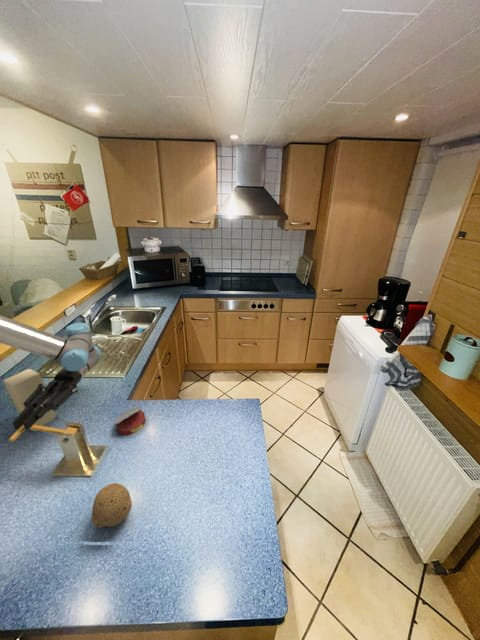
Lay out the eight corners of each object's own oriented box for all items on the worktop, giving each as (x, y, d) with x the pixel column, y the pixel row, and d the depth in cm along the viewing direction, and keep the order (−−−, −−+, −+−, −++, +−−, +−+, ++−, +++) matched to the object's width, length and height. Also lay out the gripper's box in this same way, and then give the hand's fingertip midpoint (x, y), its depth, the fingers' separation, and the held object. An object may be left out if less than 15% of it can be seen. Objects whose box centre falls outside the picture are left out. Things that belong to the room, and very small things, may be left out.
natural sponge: (141, 503, 69) (135, 480, 65) (120, 541, 62) (112, 518, 57) (112, 495, 71) (105, 472, 67) (89, 531, 63) (79, 508, 59)
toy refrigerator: (46, 410, 99) (27, 367, 90) (57, 417, 96) (39, 373, 87) (23, 425, 93) (1, 380, 84) (34, 432, 90) (12, 386, 81)
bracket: (52, 477, 75) (36, 443, 69) (72, 448, 85) (60, 415, 78) (92, 478, 75) (79, 444, 69) (108, 448, 84) (98, 416, 78)
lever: (8, 443, 69) (7, 437, 68) (35, 415, 78) (34, 409, 77) (65, 451, 71) (64, 446, 70) (85, 423, 80) (85, 418, 79)
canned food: (124, 444, 91) (104, 431, 86) (128, 421, 99) (111, 408, 94) (150, 431, 90) (132, 417, 85) (153, 408, 99) (136, 394, 93)
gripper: (94, 383, 94) (51, 435, 73) (53, 382, 94) (-2, 434, 73) (89, 366, 91) (42, 416, 70) (47, 365, 91) (-12, 415, 70)
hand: (20, 425), depth 71 cm, fingers closed on lever, 2 cm apart
